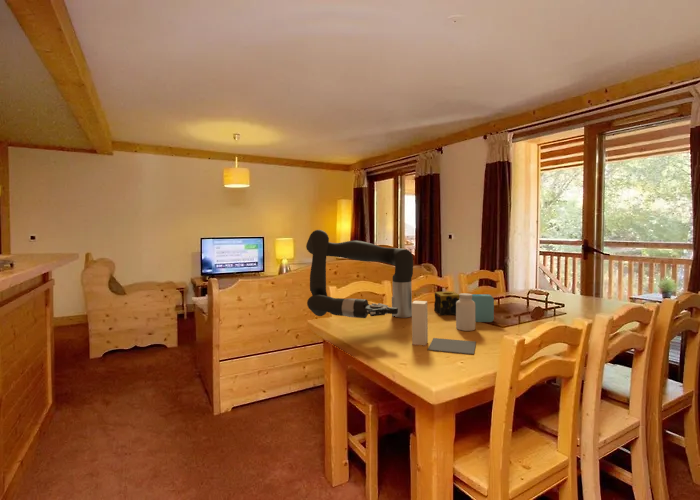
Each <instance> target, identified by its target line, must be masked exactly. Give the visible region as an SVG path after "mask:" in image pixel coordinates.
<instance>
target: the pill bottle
mask: <svg viewBox="0 0 700 500" xmlns="http://www.w3.org/2000/svg"><path fill="white" fill-rule="evenodd" d="M458 294H459V297H460V298H459V299H460V300H458V301H457V302H456V315H455V328H456V330H459V331H463V332H465V331H466V332H469V331H470V332H471V331H472V332H473V331H474V330H475V329H476V322H475V302H474V301H472V293H467V292H466V293H465V292H464V293H461V292H460V293H458Z"/></svg>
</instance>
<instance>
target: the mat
mask: <svg viewBox="0 0 700 500" xmlns="http://www.w3.org/2000/svg"><path fill="white" fill-rule="evenodd" d="M476 344H477V341H476V340H463V339H462V340H461V339H450V338H449V339H448V338H439V337H438V338H437V337H433V338H432V340H431V342H430V344H429V346H428V348H427V351H428V350H433V351H432V352H439V351H442V353H449V352H452V354H460V353H462V355H470V354H474V355H475V352H474V351H476Z"/></svg>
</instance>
